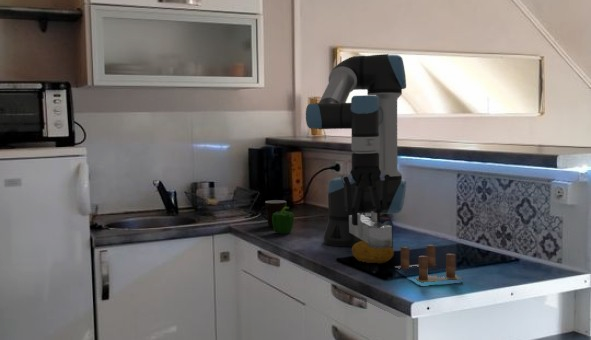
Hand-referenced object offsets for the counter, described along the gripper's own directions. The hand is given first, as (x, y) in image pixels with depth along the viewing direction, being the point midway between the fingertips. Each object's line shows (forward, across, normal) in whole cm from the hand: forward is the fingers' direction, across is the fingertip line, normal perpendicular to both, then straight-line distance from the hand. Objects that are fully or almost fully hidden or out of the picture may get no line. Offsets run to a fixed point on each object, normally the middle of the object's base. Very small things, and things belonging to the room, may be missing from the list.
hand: (366, 235), depth 178 cm
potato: (+12, +7, +14) cm, 19 cm away
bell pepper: (+13, -8, +70) cm, 71 cm away
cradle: (+11, +16, -6) cm, 20 cm away
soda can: (+12, +14, +24) cm, 30 cm away
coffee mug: (+13, -9, +84) cm, 86 cm away
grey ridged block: (+1, 0, -2) cm, 3 cm away
